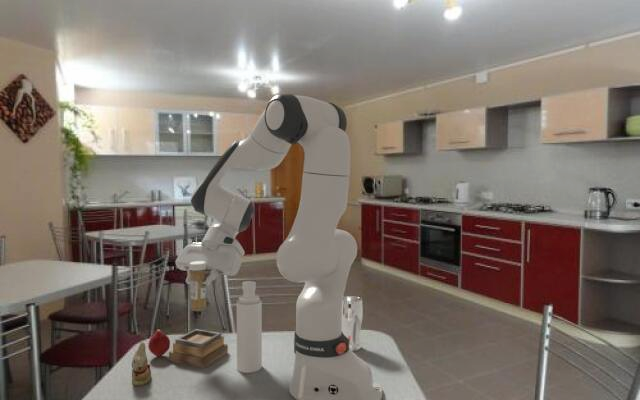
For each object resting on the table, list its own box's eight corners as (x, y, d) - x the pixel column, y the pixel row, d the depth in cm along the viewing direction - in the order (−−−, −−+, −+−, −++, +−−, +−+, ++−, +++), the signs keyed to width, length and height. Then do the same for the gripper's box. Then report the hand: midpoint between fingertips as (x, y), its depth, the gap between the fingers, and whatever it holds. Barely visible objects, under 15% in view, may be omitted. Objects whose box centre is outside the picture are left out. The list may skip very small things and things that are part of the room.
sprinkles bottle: (208, 309, 126) (208, 262, 125) (192, 312, 124) (192, 264, 123) (203, 305, 130) (203, 260, 129) (187, 307, 128) (187, 261, 127)
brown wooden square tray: (227, 352, 131) (227, 332, 130) (204, 368, 120) (204, 346, 120) (194, 346, 135) (194, 327, 135) (169, 360, 125) (168, 339, 125)
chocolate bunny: (122, 386, 110) (121, 346, 109) (140, 372, 118) (139, 335, 117) (142, 388, 109) (142, 348, 109) (159, 373, 117) (158, 336, 116)
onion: (173, 353, 130) (173, 326, 130) (164, 361, 124) (164, 333, 124) (154, 352, 131) (153, 325, 130) (144, 360, 125) (144, 332, 124)
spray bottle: (232, 367, 121) (231, 276, 120) (253, 360, 126) (252, 272, 124) (245, 375, 116) (244, 281, 115) (266, 368, 121) (266, 277, 119)
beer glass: (335, 345, 137) (335, 297, 136) (355, 341, 140) (355, 294, 139) (346, 353, 130) (346, 303, 130) (366, 349, 133) (367, 300, 132)
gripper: (184, 236, 136) (162, 274, 128) (241, 240, 128) (222, 281, 120) (193, 248, 140) (172, 286, 132) (249, 253, 133) (231, 293, 124)
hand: (196, 284), depth 126 cm, fingers closed on sprinkles bottle, 4 cm apart
